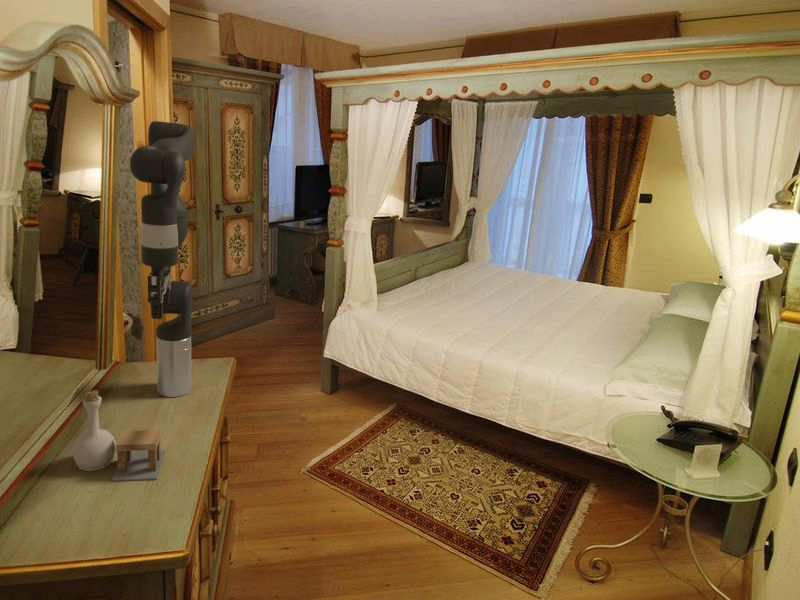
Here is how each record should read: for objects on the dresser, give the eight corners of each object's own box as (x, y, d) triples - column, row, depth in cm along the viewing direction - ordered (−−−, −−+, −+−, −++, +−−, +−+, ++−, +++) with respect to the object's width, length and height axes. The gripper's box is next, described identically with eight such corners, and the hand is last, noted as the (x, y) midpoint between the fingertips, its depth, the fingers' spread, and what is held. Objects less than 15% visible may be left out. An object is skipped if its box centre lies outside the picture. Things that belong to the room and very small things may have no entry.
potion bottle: (98, 477, 117) (94, 403, 112) (63, 468, 119) (57, 395, 114) (126, 456, 126) (123, 386, 120) (92, 448, 127) (89, 378, 122)
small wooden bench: (161, 456, 126) (161, 429, 124) (156, 471, 121) (155, 444, 119) (124, 457, 124) (123, 430, 122) (117, 472, 119) (116, 445, 117)
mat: (124, 452, 127) (124, 451, 127) (165, 451, 129) (165, 450, 129) (111, 481, 116) (111, 479, 116) (156, 479, 119) (156, 478, 119)
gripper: (172, 251, 113) (172, 323, 118) (182, 237, 126) (182, 302, 131) (133, 249, 111) (135, 322, 116) (148, 234, 124) (149, 301, 129)
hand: (160, 311), depth 123 cm, fingers open, 8 cm apart
